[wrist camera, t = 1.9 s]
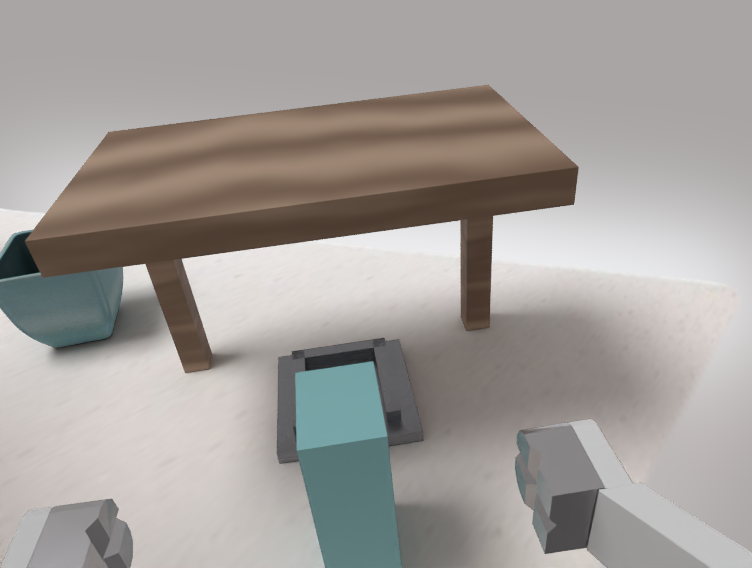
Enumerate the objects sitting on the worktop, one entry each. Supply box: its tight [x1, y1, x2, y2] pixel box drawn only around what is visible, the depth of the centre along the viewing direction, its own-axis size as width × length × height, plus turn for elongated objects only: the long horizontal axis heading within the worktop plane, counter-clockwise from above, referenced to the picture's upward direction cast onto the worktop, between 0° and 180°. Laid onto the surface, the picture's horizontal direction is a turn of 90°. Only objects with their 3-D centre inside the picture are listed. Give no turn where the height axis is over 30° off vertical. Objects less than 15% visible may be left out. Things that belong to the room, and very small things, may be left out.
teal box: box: [295, 361, 402, 568], centre depth 31 cm, size 5×4×12 cm
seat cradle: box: [277, 338, 423, 463], centre depth 43 cm, size 10×10×2 cm
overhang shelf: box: [25, 85, 578, 373], centre depth 39 cm, size 15×26×20 cm, turn 97°
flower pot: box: [0, 230, 123, 348], centre depth 52 cm, size 9×9×9 cm
